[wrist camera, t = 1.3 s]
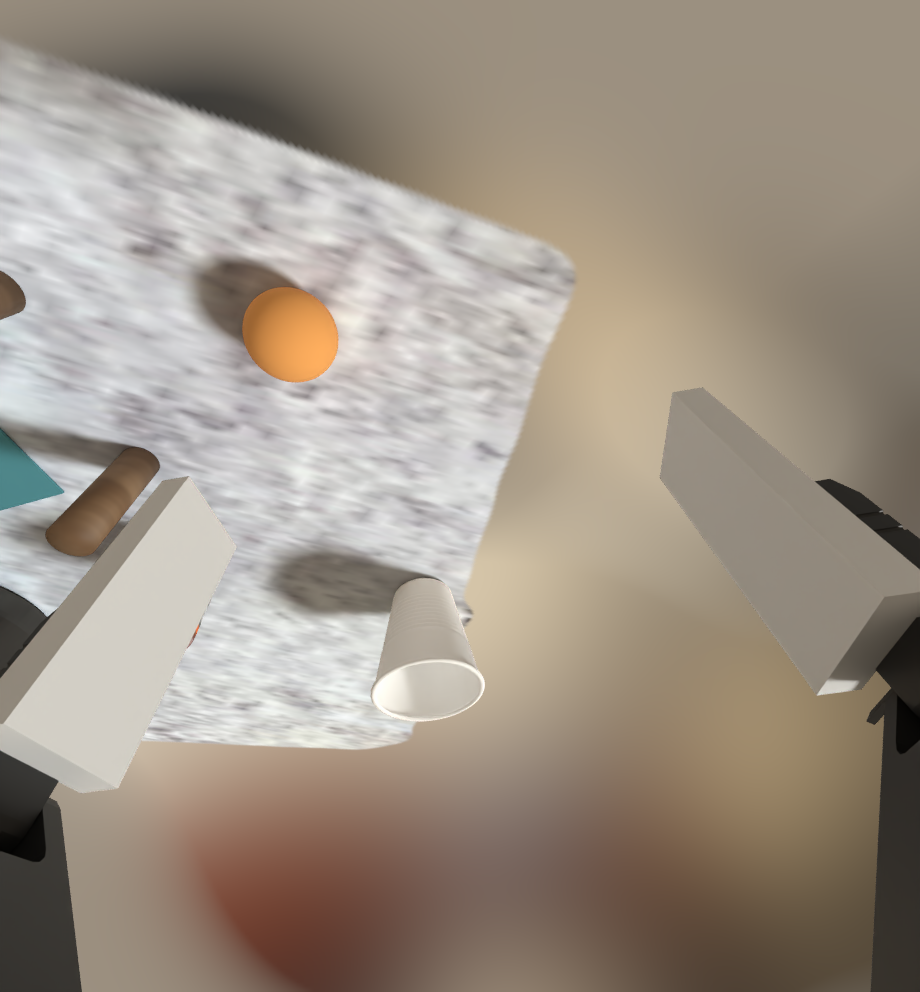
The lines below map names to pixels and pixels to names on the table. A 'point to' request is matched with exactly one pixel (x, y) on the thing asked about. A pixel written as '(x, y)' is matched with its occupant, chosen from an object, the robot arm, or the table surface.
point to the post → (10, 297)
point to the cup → (425, 657)
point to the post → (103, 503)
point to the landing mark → (21, 477)
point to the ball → (290, 334)
